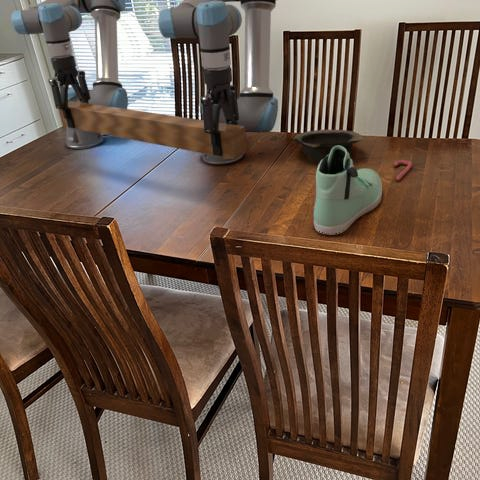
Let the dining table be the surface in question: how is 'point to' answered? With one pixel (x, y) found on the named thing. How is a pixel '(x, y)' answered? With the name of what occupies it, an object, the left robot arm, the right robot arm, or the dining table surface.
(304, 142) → the stone bowl
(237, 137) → the beam
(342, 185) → the sneaker
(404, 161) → the candy cane
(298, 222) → the dining table surface
